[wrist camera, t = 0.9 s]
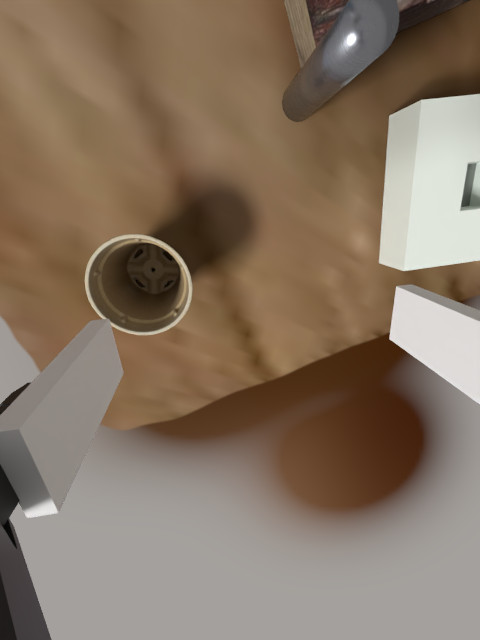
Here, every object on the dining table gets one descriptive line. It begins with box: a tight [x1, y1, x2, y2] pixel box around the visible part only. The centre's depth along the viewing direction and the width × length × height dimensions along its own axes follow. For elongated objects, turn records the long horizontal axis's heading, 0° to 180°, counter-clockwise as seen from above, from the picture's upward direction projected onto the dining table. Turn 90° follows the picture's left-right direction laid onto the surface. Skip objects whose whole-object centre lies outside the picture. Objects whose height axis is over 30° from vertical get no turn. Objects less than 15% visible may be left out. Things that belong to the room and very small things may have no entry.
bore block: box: [379, 94, 480, 271], centre depth 32 cm, size 16×16×5 cm
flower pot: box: [85, 234, 192, 335], centre depth 30 cm, size 9×9×9 cm
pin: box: [282, 0, 399, 122], centre depth 23 cm, size 3×3×14 cm
